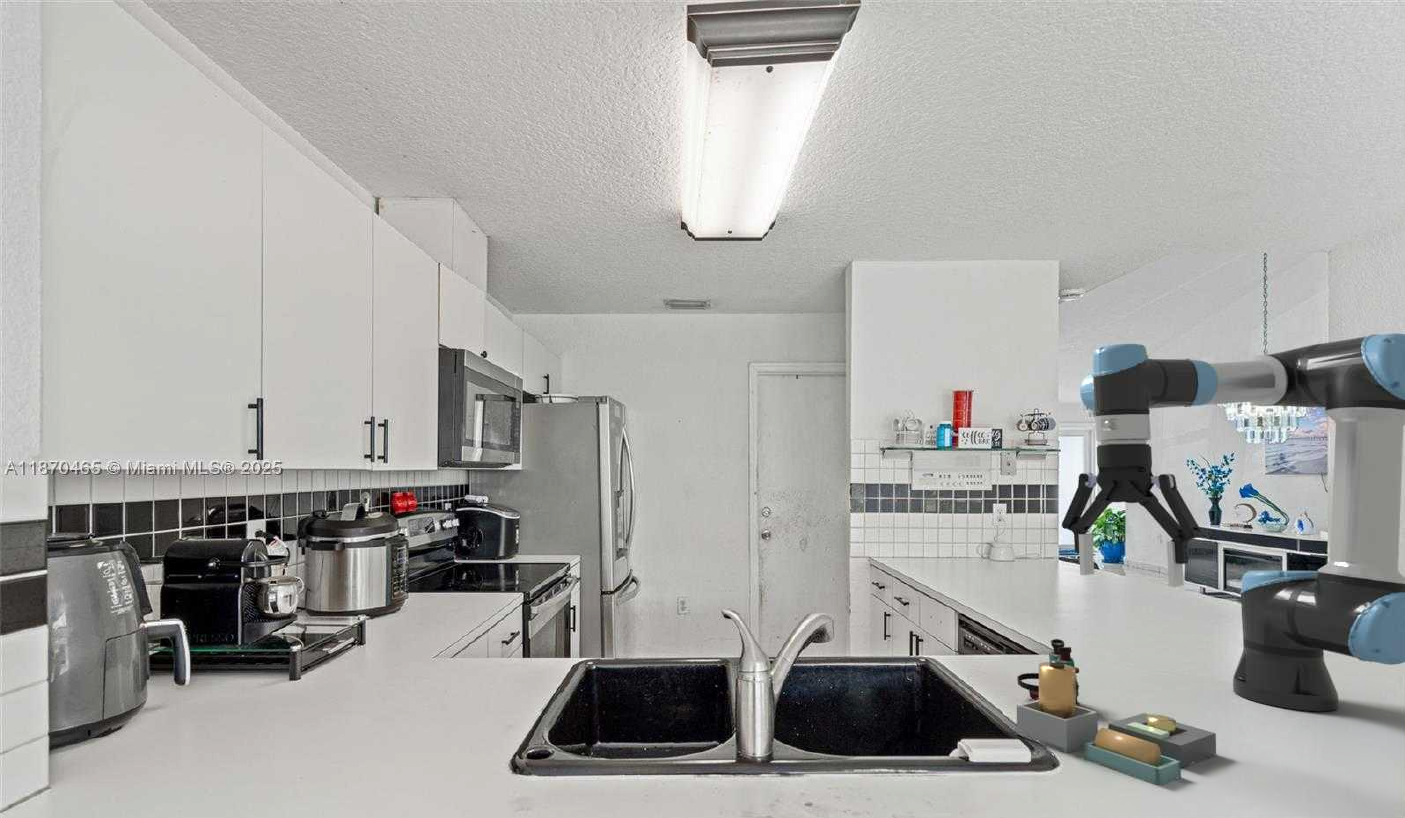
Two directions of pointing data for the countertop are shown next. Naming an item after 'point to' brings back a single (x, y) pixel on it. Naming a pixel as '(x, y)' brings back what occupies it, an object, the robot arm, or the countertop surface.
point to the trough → (1132, 757)
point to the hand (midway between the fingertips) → (1129, 580)
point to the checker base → (1170, 739)
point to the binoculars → (1058, 654)
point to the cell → (1057, 689)
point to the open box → (1058, 727)
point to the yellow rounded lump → (1162, 723)
